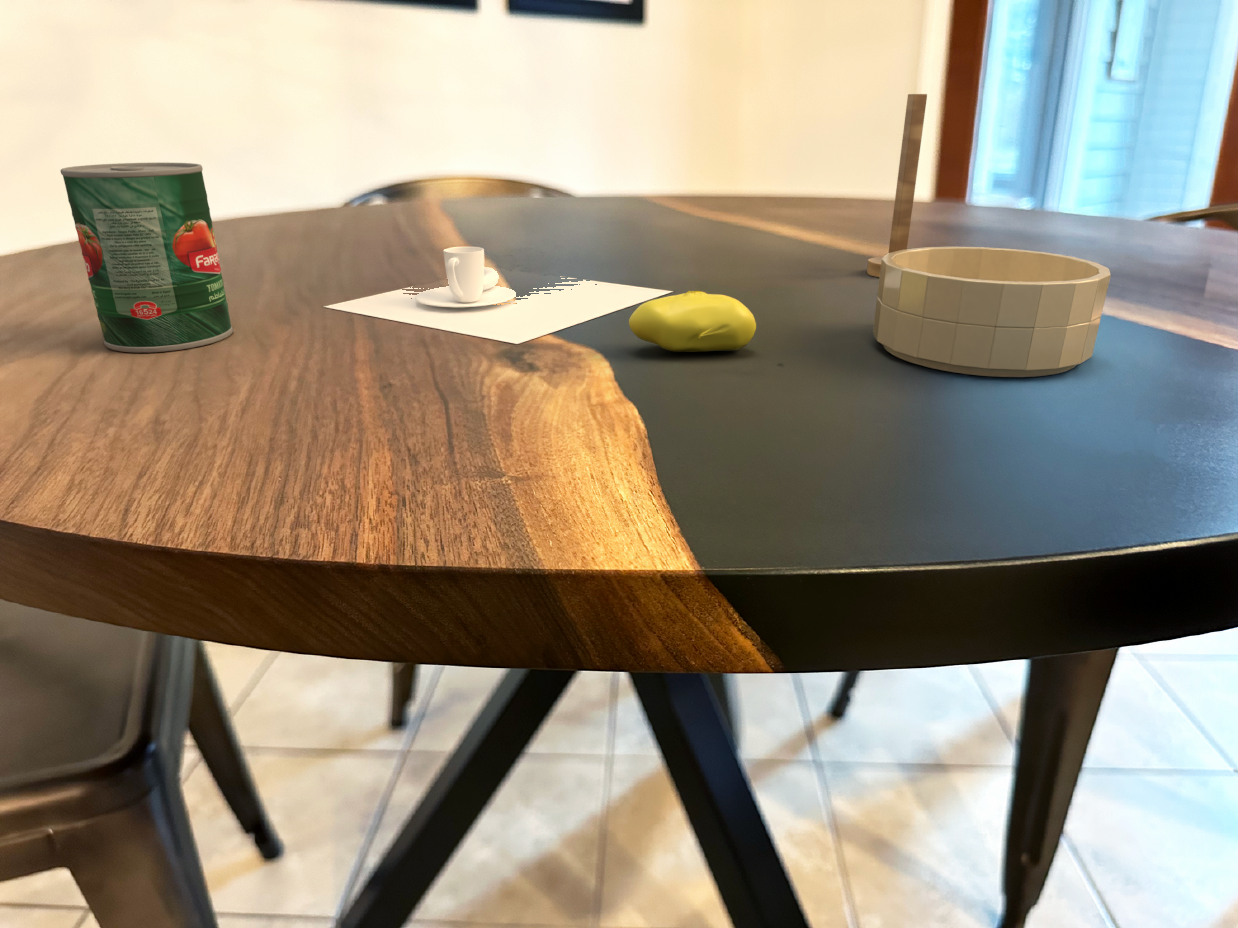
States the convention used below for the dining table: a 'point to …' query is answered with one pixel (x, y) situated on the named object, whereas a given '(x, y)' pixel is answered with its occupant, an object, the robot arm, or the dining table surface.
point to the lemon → (694, 322)
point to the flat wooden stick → (905, 178)
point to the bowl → (989, 309)
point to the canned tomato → (149, 254)
